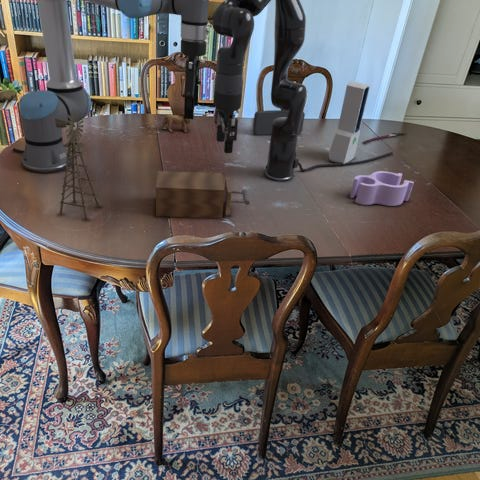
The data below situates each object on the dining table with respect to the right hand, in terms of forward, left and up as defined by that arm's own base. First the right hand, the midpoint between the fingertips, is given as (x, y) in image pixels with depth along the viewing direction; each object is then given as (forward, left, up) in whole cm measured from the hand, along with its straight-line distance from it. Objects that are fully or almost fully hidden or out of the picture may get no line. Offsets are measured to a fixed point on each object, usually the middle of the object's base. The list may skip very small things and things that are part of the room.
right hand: (224, 146), depth 133 cm
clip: (-51, +26, -21) cm, 61 cm away
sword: (-107, -4, -21) cm, 109 cm away
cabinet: (+7, -6, -21) cm, 23 cm away
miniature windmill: (+34, -23, -21) cm, 46 cm away
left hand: (-6, -21, +3) cm, 22 cm away
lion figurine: (-32, -61, -21) cm, 72 cm away
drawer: (+2, -2, -20) cm, 20 cm away
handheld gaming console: (-67, -35, -21) cm, 79 cm away
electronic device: (-68, -2, -21) cm, 71 cm away
